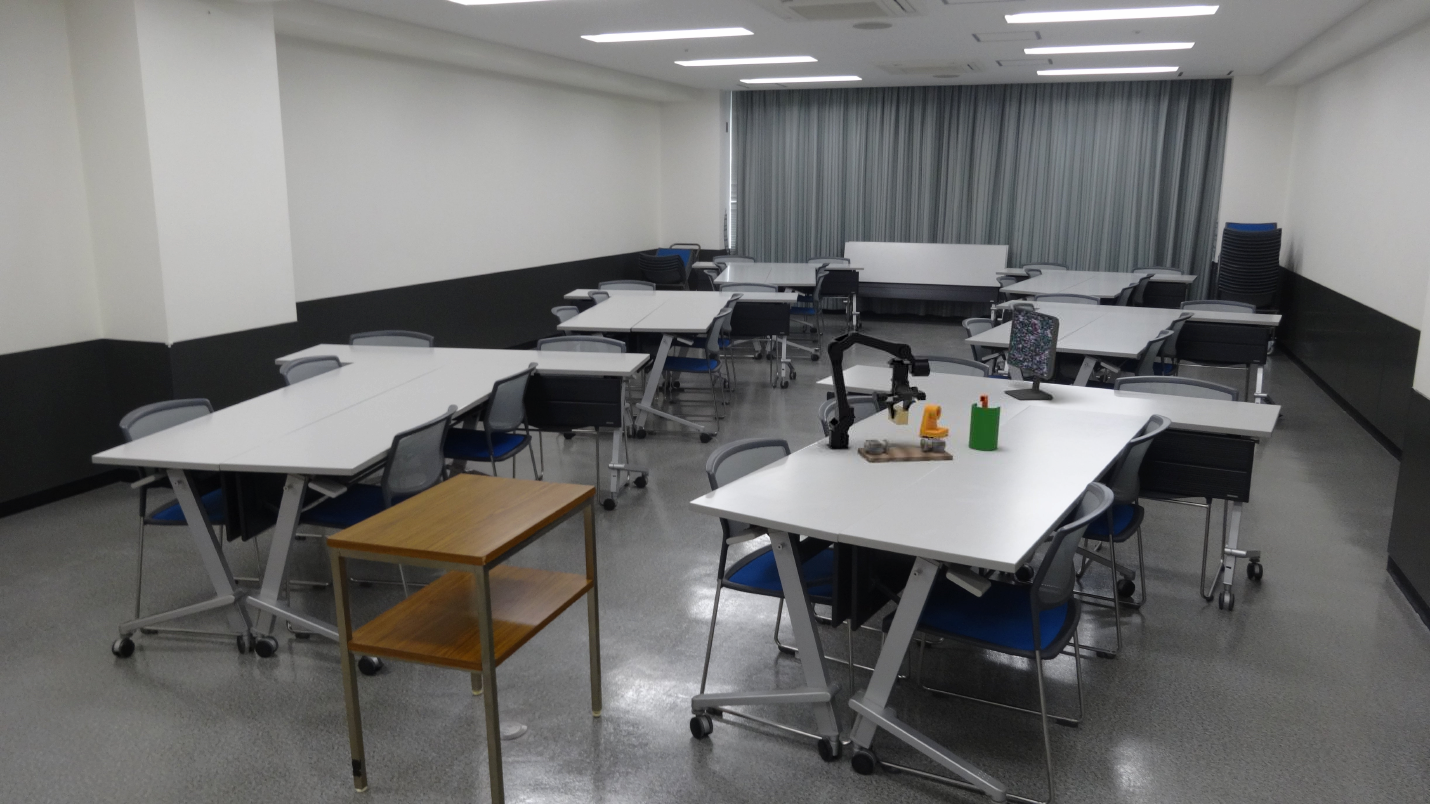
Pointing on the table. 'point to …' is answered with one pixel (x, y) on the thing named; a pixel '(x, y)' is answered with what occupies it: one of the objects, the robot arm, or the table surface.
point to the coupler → (899, 415)
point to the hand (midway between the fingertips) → (897, 418)
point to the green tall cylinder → (984, 426)
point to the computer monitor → (1033, 349)
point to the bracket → (932, 423)
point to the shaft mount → (905, 451)
